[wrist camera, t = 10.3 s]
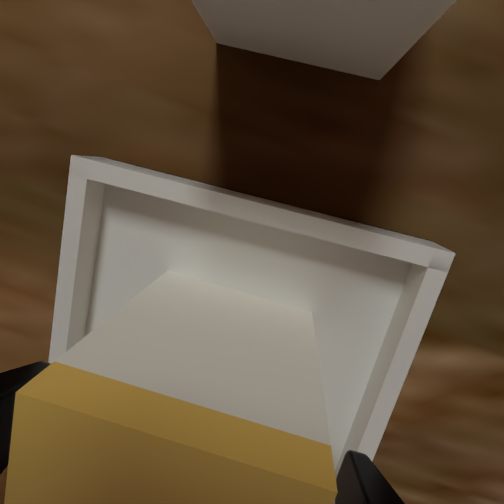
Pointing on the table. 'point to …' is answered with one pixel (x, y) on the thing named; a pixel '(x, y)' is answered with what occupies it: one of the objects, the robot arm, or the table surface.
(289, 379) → the amber cartridge
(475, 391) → the table surface
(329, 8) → the grey cartridge
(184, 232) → the tray
